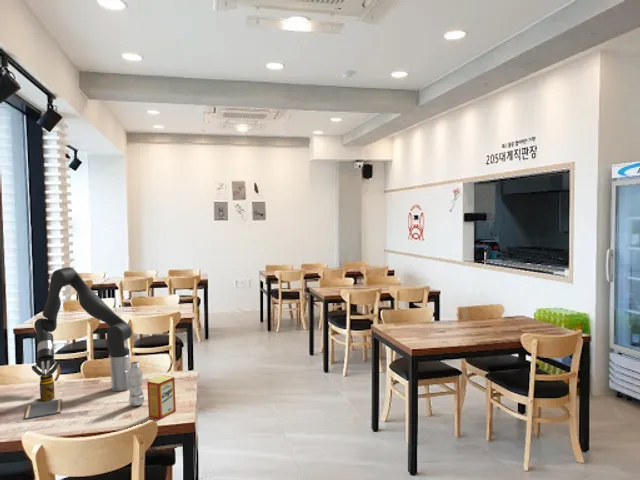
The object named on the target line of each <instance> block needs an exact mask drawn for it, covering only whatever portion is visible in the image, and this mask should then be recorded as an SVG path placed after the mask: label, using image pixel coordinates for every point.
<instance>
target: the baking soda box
mask: <svg viewBox="0 0 640 480" xmlns="http://www.w3.org/2000/svg"><path fill="white" fill-rule="evenodd" d="M146 383H147V384H146V385H147V403H148V405H147V406H148V407H147V408H148V418H151V419H155V420H162V419H164V418H167V417H168V416H170V415H171V414H173V413H176V411H177V409H176V386H175V385H176V384H175V383H176V381H175V376H170V375H160V376H158V377H154V378H152V379H150V380H148V381H147V382H146Z"/></svg>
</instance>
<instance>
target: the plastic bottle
mask: <svg viewBox="0 0 640 480" xmlns="http://www.w3.org/2000/svg"><path fill="white" fill-rule="evenodd" d="M130 368H131V370H130V371H129V373H128V379H129V384H130V388H129V399H128V402H129V405H130V406H131V407H138V406H139V407H140V406H141V405H143V404H144V402H145V396H144V391H143V376H144V375H143V373H144V372H143V371H142V369H141V368H140V362H139V361H133V362H130Z"/></svg>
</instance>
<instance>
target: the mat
mask: <svg viewBox="0 0 640 480" xmlns="http://www.w3.org/2000/svg"><path fill="white" fill-rule="evenodd" d="M61 411H62V398H60V399H56V400H52V401H46V402H41V403H36V402H35V403H30V404H27V406H26V411H25V415H24V420H30V419H37V418H40V417H45V416H46V417H47V416H52V415H58V414H61V413H62V412H61Z"/></svg>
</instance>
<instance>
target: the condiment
mask: <svg viewBox="0 0 640 480" xmlns="http://www.w3.org/2000/svg"><path fill="white" fill-rule="evenodd" d="M39 379H40V380H39V391H40V392H39V395H40V396H39V397H40V398H39V397H38V398H35V400H34V401H35V403H41V402H46V401H52V400H57V398H56V394H55V383H54V382H55V380H54V376H53V374H46V373H45V375H42V376H40V377H39Z"/></svg>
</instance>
